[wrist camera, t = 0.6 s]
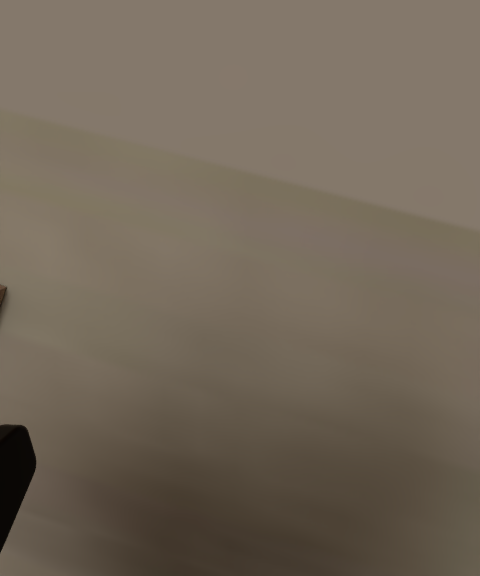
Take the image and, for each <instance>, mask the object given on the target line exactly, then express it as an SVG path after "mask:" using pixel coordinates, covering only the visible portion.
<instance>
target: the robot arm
mask: <svg viewBox="0 0 480 576" xmlns="http://www.w3.org/2000/svg"><path fill="white" fill-rule="evenodd" d="M35 469H36V456H35V453H34V449H33V446H32V443H31V439H30V436H29V432H28V430H27V428H26V427H25V426H23V425H9V424H5V425H0V552H1V550H2V548H3V546H4V544H5V541H6V539H7V537H8V534H9V532H10V530H11V527H12V525H13V522H14V520H15V518H16V515H17V513H18V511H19V508H20V506H21V503H22V501H23V499H24V496H25V494H26V492H27V489H28V487H29V484H30V482H31V480H32V477H33V475H34V472H35Z"/></svg>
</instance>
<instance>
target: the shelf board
mask: <svg viewBox="0 0 480 576" xmlns="http://www.w3.org/2000/svg"><path fill="white" fill-rule="evenodd" d="M5 290H6V287H5V286H2V285H0V305H1V302H2V299H3V296H4V293H5Z"/></svg>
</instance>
